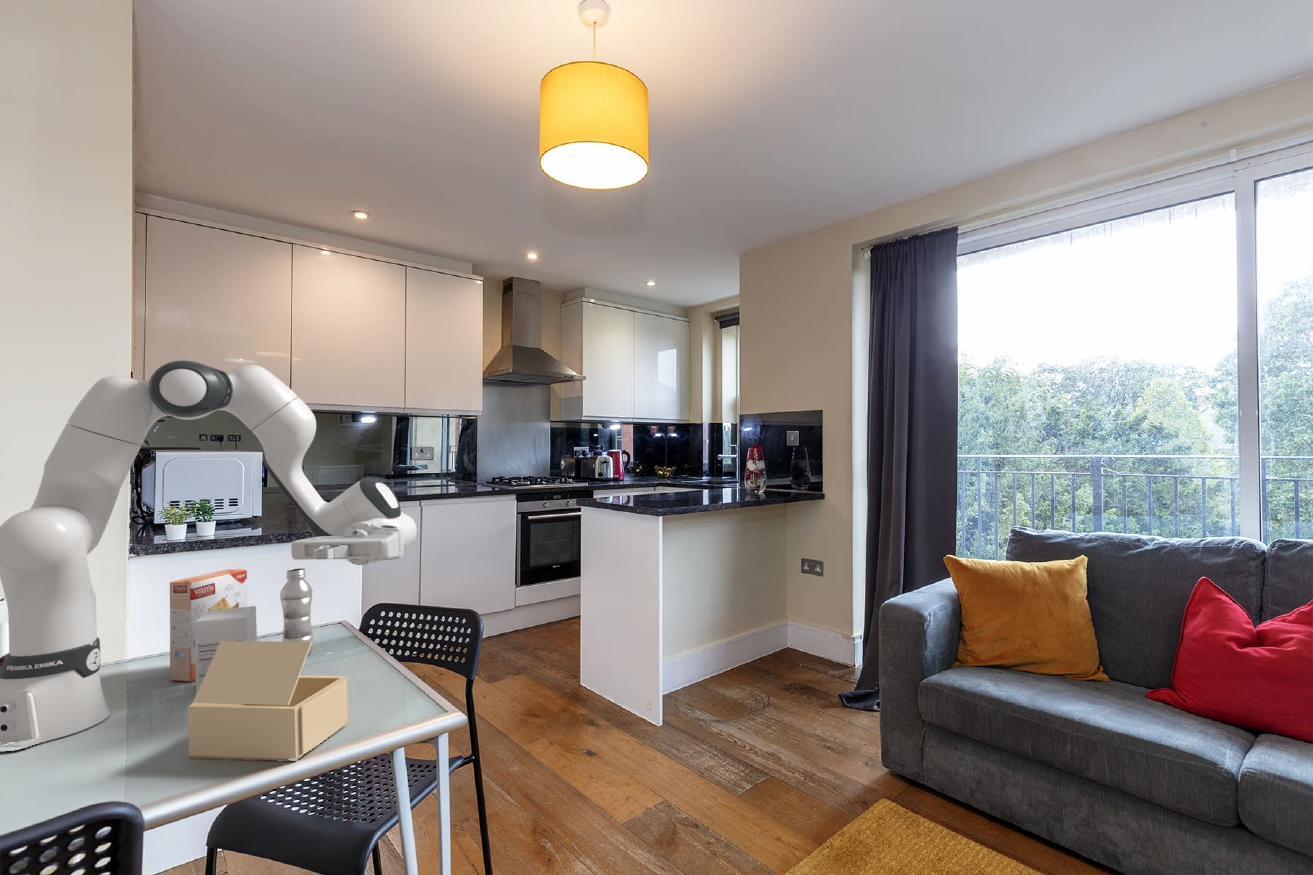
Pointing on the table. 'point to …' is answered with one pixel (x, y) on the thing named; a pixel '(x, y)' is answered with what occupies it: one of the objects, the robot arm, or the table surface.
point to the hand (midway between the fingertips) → (320, 554)
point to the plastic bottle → (297, 608)
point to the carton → (270, 723)
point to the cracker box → (199, 613)
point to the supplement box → (221, 634)
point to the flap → (253, 673)
